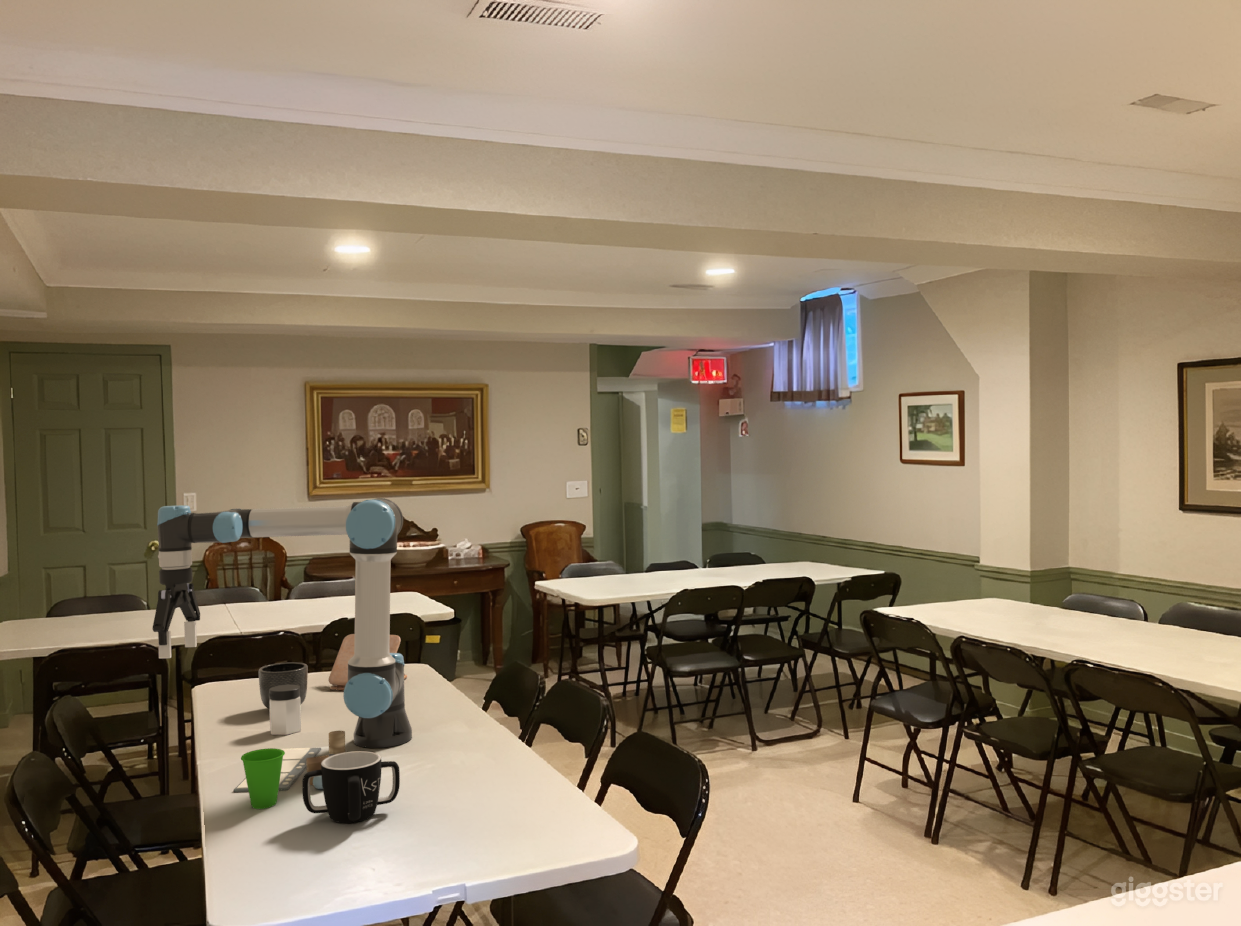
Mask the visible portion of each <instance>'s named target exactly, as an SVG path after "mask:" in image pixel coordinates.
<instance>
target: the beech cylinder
mask: <svg viewBox="0 0 1241 926" xmlns="http://www.w3.org/2000/svg"><path fill="white" fill-rule="evenodd" d="M345 752H346V731H345V730H332V731H329V732H328V755H329V754H335V755H336V754H340V753H345Z"/></svg>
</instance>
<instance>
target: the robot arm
mask: <svg viewBox="0 0 1241 926" xmlns="http://www.w3.org/2000/svg"><path fill="white" fill-rule="evenodd" d="M403 515H404V514H403V513H402V510H401V508H400V507H399V506H398V505H397V504H396V503H395V501H392V500H390V499H388V498H384V497H383V498H382V497H379V498H372V499H366V500H362V501H353V502H351V503H349V505H342V506H341V505H340V506H339V505H338V506H334V505H333V506H312V507H311V506H307V507H306V506H305V507H303V506H302V507H277V508H276V507H274V508H273V507H272V508H251V509H250V508H249V509H247V508H243V509H242V508H232V509H228V510H223V511H222V510H221V511H215V512H214V511H213V512H192V510H191V507H190V505H186V504H184V505H164V506H161V507H160V508H159V509H158V510H157V524H156V527H157V538H158V541H157V543H158V554H157V558H158V563H159V564H158V567H160V568H161V569H159V571H158V576H159V580H158V581H159V584H160V585H164V586H165V589H164V590H160V589H159V590H158V593H157V603H156V608H155V613H154V614H155V615H154V617H153V618H154V619H153V623H152V632H154V633H157V642H158V643H157V645H158V659H171V658H172V635H171V633H172V632H171V630H169V629H170V626H171V623H172V620H173V618H174V614H175V611H176V609H177V608H178V607H179V609H180V611H181V613H182V615H183V616H184V619H185V621H184V623H183V624H184V625H183V629H184V648H196V647H198V646H197V645H198V644H197V643H198V641H197V640H198V639H197V621H200V620H201V611H200V608H199V604H198V600H197V597H196V594H195V588H194V587H195V586H194V583H193V568H192V567H191V566H192V565H193V551H192V548H193V547H192V545H193V544H202V543H206V544H207V543H208V544H209V543H210V544H211V543H222V544H226V543H231V542H238V541H239V540H240V539H245V538H246V539H247V538H248V539H249V538H250V539H251V538H277V537H278V538H279V537H312V536H313V537H314V536H316V537H317V536H345V535H347V537H348V539H349V554H350V556H351V557H352V558H353V559H354V560H355V577H354V579H355V580H354V581H355V584H354V585H355V586H354V588H355V589H354V634H355V647H354V656H353V657H352V658H351V659H350V660H349V661H348V682H347V683H346V686H345V689H344V690H343V702H344V704H345V707H346V708H347V710H348V711H349V712H351V714H353V715H354V716H356V717H358V719H357V721H356V725H355V728H354V732H353V743H354V744H355V745H356V746H357V747H361V748H369V749H373V748H374V749H375V748H376V749H377V748H378V749H379V748H390V747H395V746H396V747H397V746H399V745H402V744H405V743H407V742H409V741H411V739H413V729H412V728H413V727H412V725H411V722H410V720H409V717H408V715H407V712H406V707H405V706H406V704H405V679H404V674H405V666H406V664H405V660H404V656H403V654H402V653H400V652H397V653H389V643H390V635H391V634H390V633H391V632H390V631H391V630H390V628H391V626H390V624H391V621H390V620H391V569H392V568H391V563H392V562H391V561H392V559H393V558H394V557H395V556H396V555H397V553H398V535H399V533H400V532H401V530H402V529H403V525H404V516H403Z"/></svg>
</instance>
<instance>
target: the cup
mask: <svg viewBox="0 0 1241 926" xmlns="http://www.w3.org/2000/svg"><path fill="white" fill-rule="evenodd" d="M281 749H282V748H275V747H274V748H260V749H255V750H251V751H247V752H245V753H243V754H242V755H241V757H240V759H241V761H242V764H243V769H244V775H245V778H246V780H247V786H248V791H249V792H248V796H249V800H250V804H251V805H250V806H251V807H252V808H253V809H256V810H264V809H270V808H273V807H274V806H276V804H277V802H278V796H279V790H278V789H279V782H280V775H281V768H282V760H283V755H285V752H284V751H283V750H281Z"/></svg>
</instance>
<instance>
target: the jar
mask: <svg viewBox="0 0 1241 926" xmlns="http://www.w3.org/2000/svg"><path fill="white" fill-rule="evenodd" d="M269 700H270V709H268V710H269V712H268V713H269V715H268V716H269V731H270V735H272V736H274V735H275V736H288V735H292V734H296V733H299V732H301V731H302V720H301V719H302V714H301V713H302V712H301V711H302V710H301V707H302V706H301V705H302V704H301V705H300V686H298V685H280V686H275V687H272V688H270V689H269Z"/></svg>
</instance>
